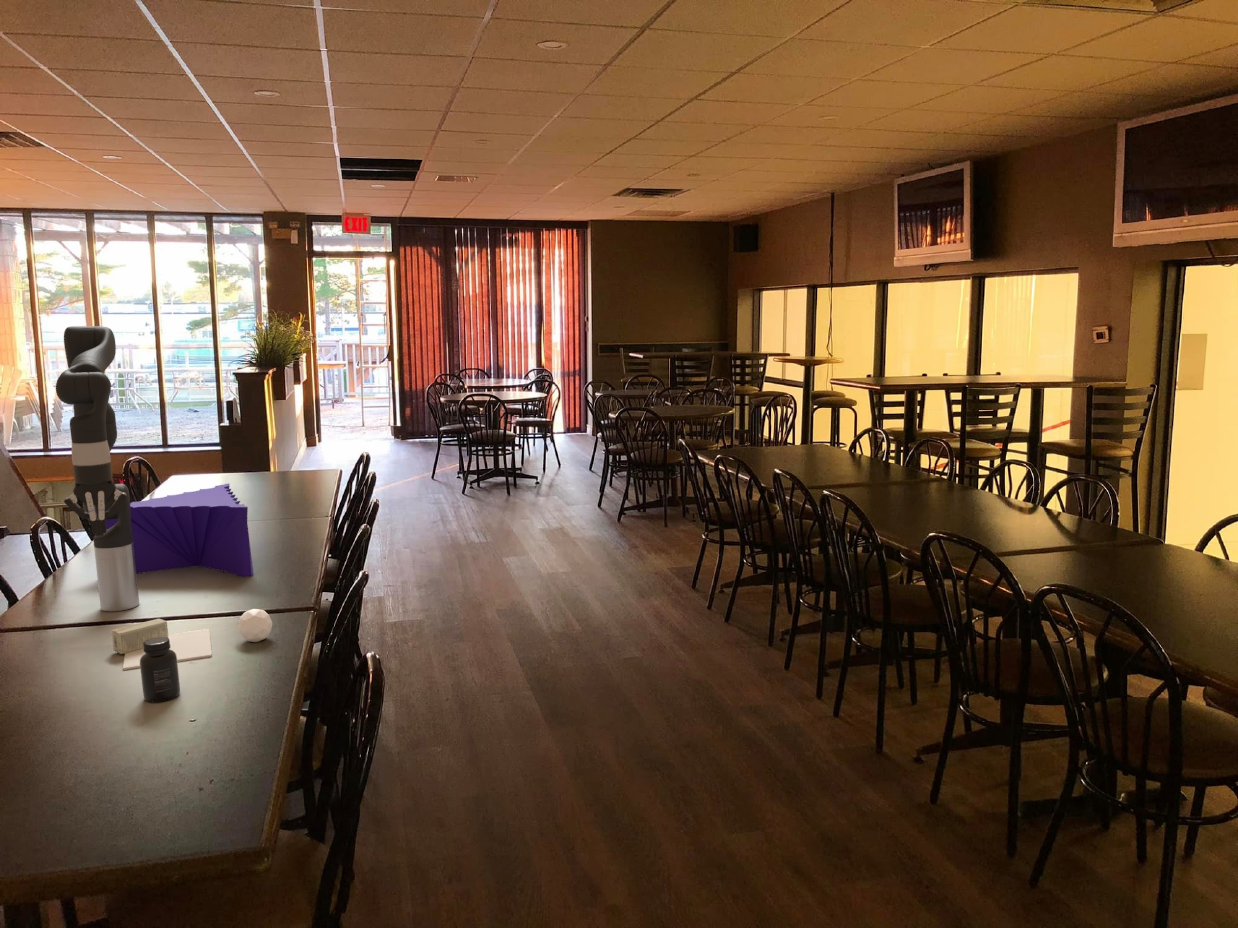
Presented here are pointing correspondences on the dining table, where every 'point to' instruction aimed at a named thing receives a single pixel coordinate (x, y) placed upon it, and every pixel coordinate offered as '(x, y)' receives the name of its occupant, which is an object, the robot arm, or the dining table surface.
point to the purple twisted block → (191, 532)
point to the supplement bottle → (159, 671)
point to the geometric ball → (254, 625)
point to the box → (138, 635)
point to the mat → (178, 648)
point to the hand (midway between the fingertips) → (99, 535)
